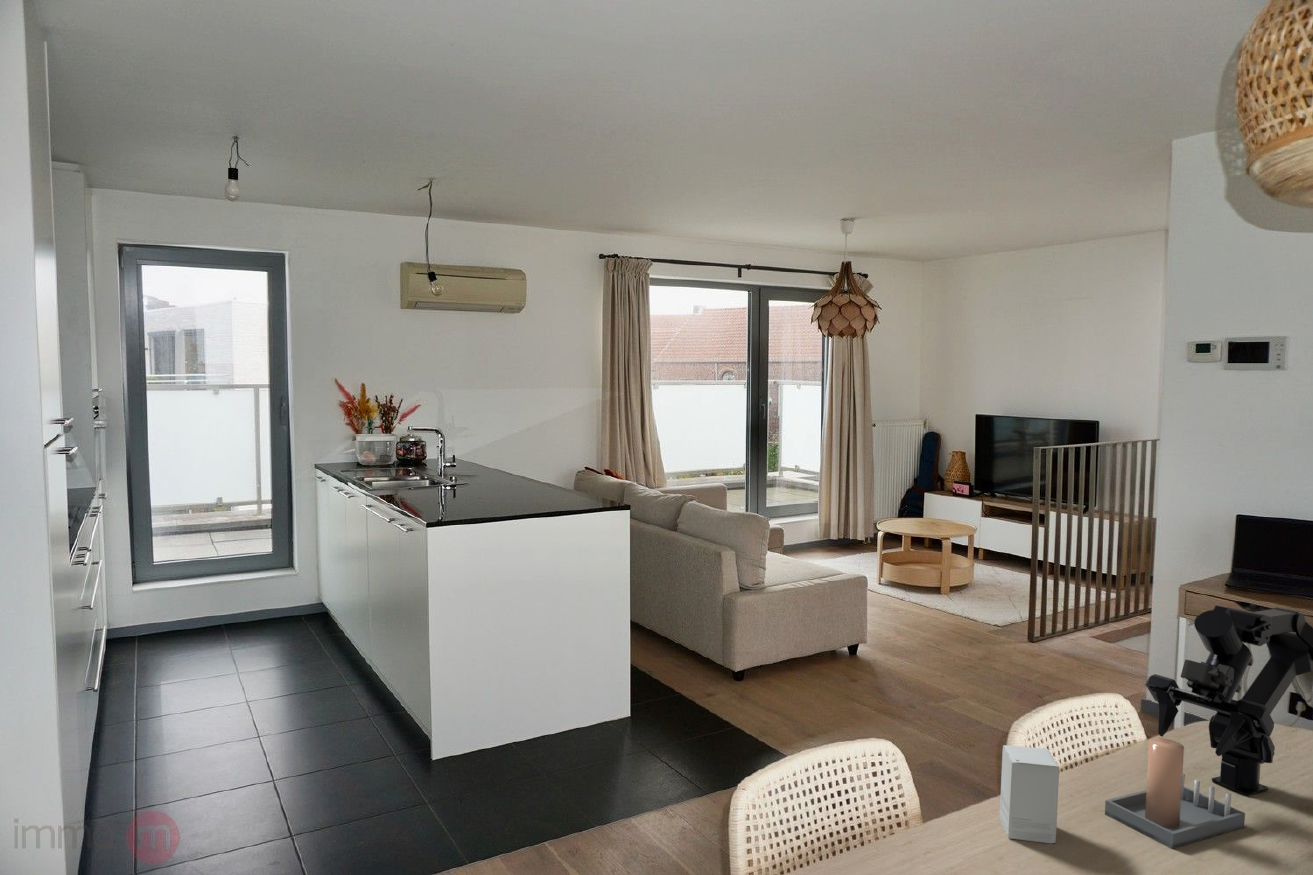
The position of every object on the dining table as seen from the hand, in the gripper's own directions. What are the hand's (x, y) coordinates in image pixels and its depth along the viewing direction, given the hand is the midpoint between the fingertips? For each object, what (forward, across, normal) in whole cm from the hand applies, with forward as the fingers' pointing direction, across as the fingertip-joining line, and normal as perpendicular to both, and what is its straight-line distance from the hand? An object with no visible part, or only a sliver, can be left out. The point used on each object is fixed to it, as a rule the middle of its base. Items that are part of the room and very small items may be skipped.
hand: (1187, 744), depth 147 cm
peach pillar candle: (+13, 0, +3) cm, 13 cm away
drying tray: (+12, 0, +6) cm, 13 cm away
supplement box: (+29, -10, -12) cm, 33 cm away
